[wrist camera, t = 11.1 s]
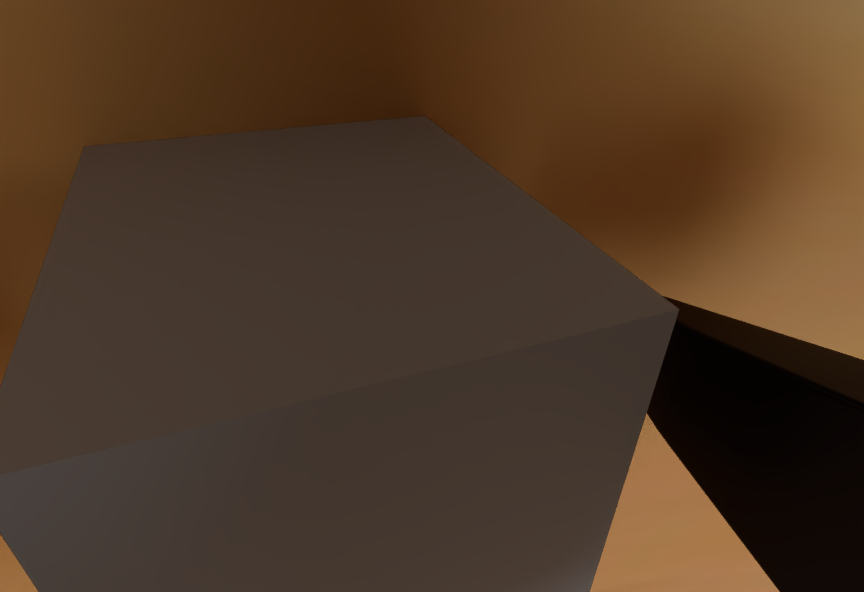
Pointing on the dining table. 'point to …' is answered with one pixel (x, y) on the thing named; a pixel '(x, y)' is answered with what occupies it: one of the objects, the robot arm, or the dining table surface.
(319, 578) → the part block
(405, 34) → the dining table surface
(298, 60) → the dining table surface
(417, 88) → the dining table surface
